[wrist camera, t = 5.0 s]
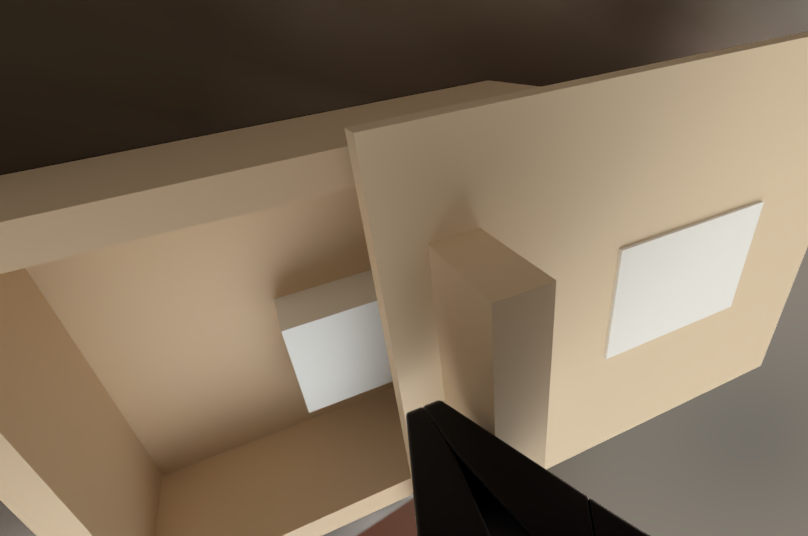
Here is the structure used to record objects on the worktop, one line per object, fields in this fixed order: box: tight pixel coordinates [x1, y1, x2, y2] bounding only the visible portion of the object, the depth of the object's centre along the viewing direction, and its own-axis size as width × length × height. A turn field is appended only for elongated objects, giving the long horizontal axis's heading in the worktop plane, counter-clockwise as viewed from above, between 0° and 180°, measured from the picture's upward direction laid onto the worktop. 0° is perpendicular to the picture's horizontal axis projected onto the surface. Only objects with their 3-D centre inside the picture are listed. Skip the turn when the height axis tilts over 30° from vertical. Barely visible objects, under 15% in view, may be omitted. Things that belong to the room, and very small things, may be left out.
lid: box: [344, 32, 808, 480], centre depth 11 cm, size 14×12×3 cm
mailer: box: [0, 80, 540, 536], centre depth 12 cm, size 14×11×4 cm
